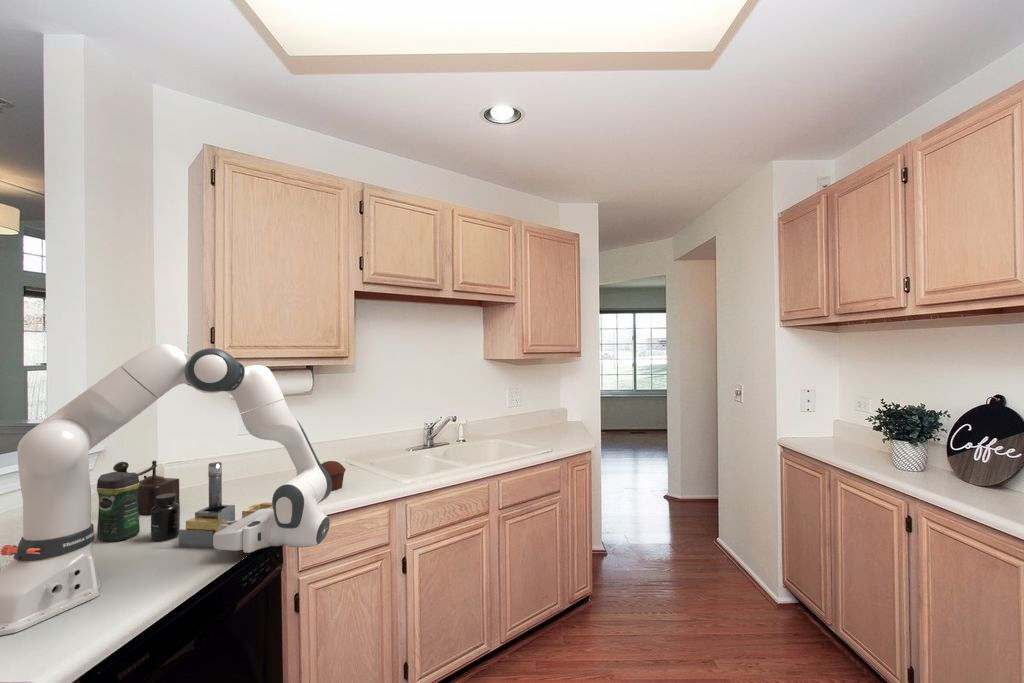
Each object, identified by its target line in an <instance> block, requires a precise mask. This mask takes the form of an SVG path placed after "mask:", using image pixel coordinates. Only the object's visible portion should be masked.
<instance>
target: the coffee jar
mask: <svg viewBox="0 0 1024 683" xmlns="http://www.w3.org/2000/svg"><path fill="white" fill-rule="evenodd" d="M139 478H140V477H139V476H138V473H136V472H128V471H127V472H116V471H112V472H108V473H103V474H101V475H100V476H99V477H98V478H97V483H96V492H97V495H98V496H97V497H98V513H97V514H98V515H97V516H98V519H97V528H96V537H97V539H98V540H99V541H103V542H105V541H107V542H118V541H121V540H126V539H131V538H133V537H134V536H136V535H138V534H139V532H141V531H140V527H141V526H140V517H139V516H140V515H139V514H138V499H137V493H138V487H139V481H140V479H139Z"/></svg>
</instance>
